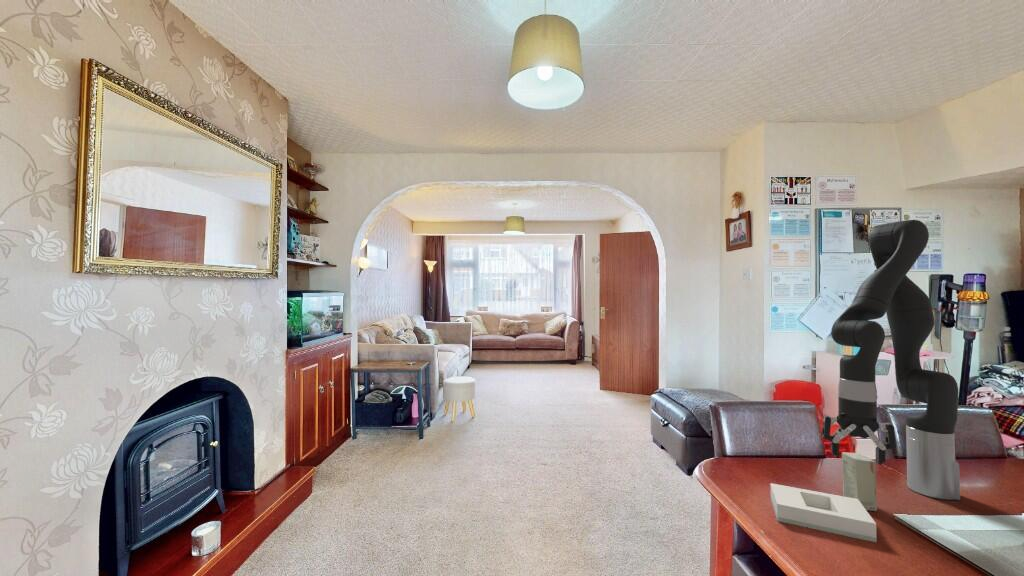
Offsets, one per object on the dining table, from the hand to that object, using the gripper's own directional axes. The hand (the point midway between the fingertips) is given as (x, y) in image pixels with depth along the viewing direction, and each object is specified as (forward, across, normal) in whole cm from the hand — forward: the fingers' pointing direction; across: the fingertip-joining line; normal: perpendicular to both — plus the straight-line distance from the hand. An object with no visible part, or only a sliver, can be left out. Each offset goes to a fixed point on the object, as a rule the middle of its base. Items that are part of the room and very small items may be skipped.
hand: (857, 460), depth 102 cm
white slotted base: (+12, +10, +13) cm, 20 cm away
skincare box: (+12, 0, 0) cm, 12 cm away
